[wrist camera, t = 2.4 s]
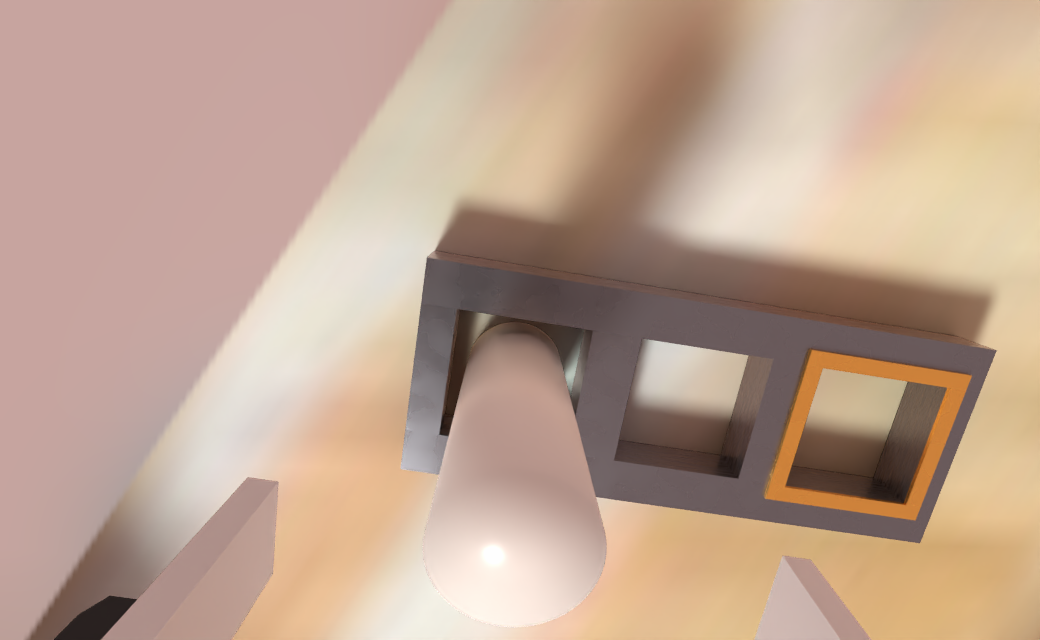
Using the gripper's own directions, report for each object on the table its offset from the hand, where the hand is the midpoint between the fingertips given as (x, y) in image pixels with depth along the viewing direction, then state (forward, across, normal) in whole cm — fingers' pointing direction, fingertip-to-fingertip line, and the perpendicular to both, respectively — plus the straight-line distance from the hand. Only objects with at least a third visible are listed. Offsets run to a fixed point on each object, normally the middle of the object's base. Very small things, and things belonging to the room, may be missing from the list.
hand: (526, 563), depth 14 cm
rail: (+16, +9, 0) cm, 18 cm away
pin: (+16, 0, 0) cm, 16 cm away
